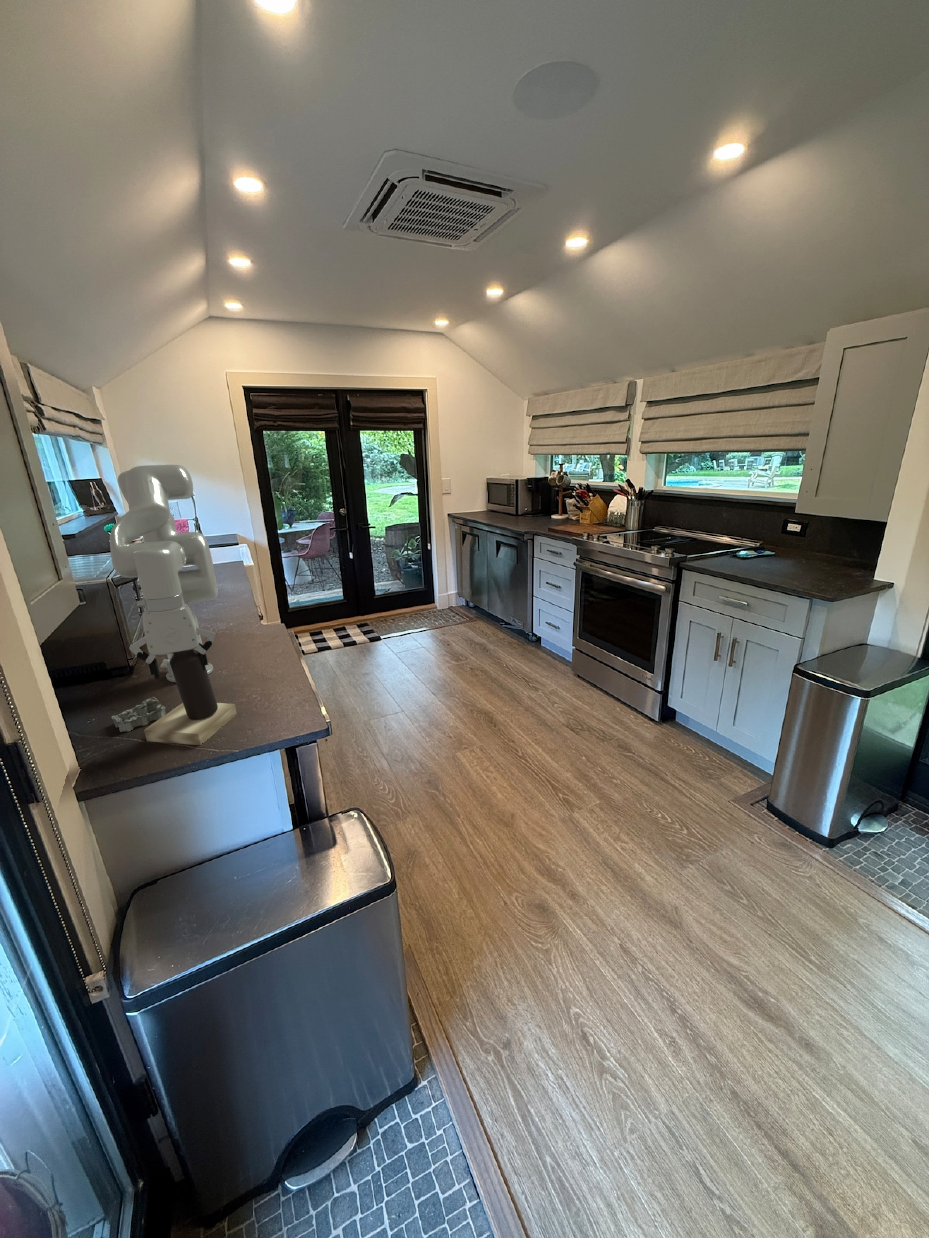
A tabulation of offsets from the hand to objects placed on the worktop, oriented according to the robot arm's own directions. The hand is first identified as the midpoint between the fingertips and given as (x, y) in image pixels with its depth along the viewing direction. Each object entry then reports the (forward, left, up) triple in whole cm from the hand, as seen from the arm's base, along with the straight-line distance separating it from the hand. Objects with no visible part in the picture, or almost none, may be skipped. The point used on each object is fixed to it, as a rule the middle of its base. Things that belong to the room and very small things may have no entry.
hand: (181, 672), depth 115 cm
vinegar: (+2, +1, -12) cm, 12 cm away
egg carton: (-16, +1, -15) cm, 22 cm away
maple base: (0, 0, -15) cm, 15 cm away
